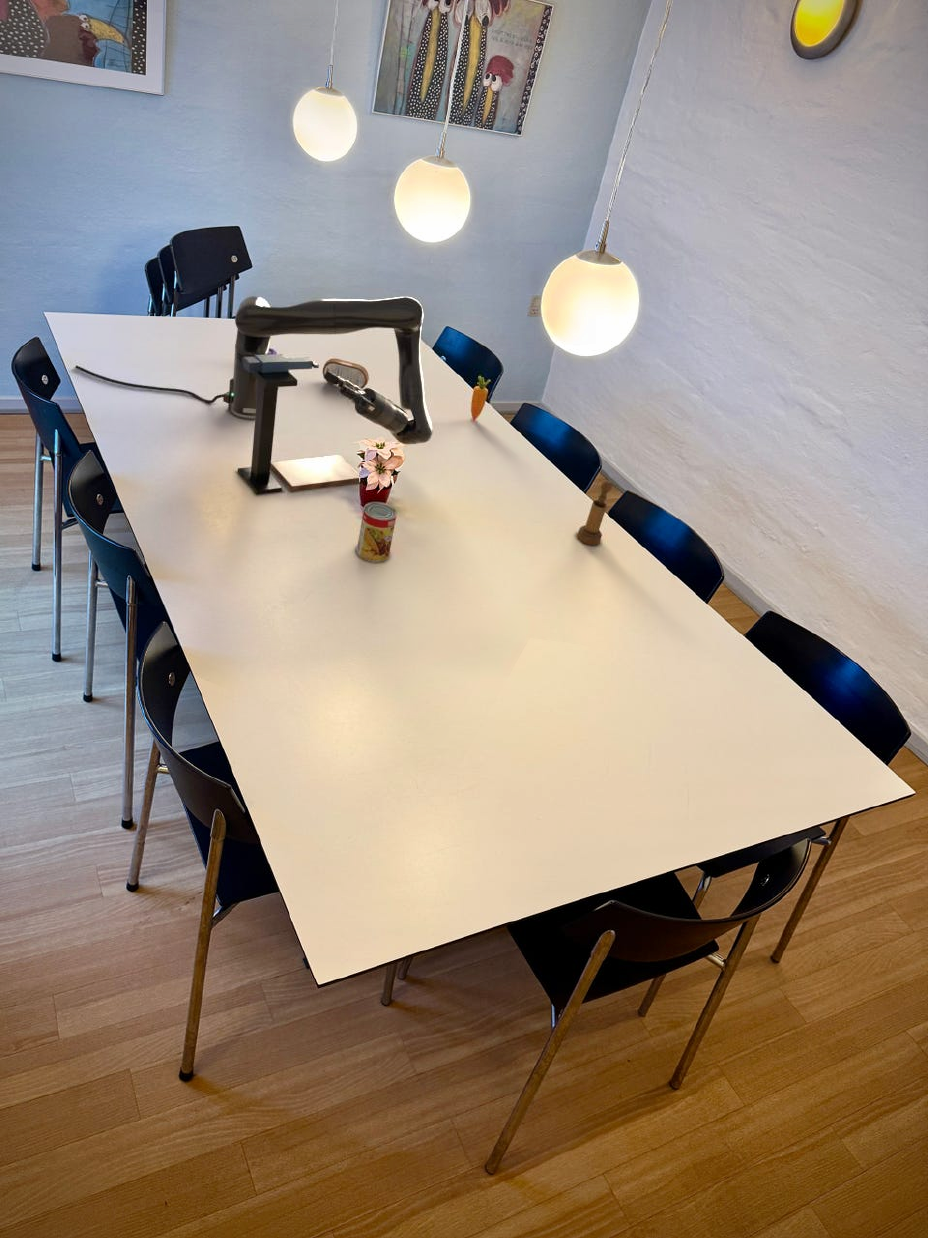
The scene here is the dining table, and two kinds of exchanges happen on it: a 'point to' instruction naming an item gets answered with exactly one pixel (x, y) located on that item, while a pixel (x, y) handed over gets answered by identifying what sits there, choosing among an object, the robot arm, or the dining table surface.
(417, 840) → the dining table surface
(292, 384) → the stand
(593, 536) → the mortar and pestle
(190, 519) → the dining table surface
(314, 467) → the board
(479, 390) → the carrot
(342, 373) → the tin
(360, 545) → the canned food
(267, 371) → the stepped blue block
